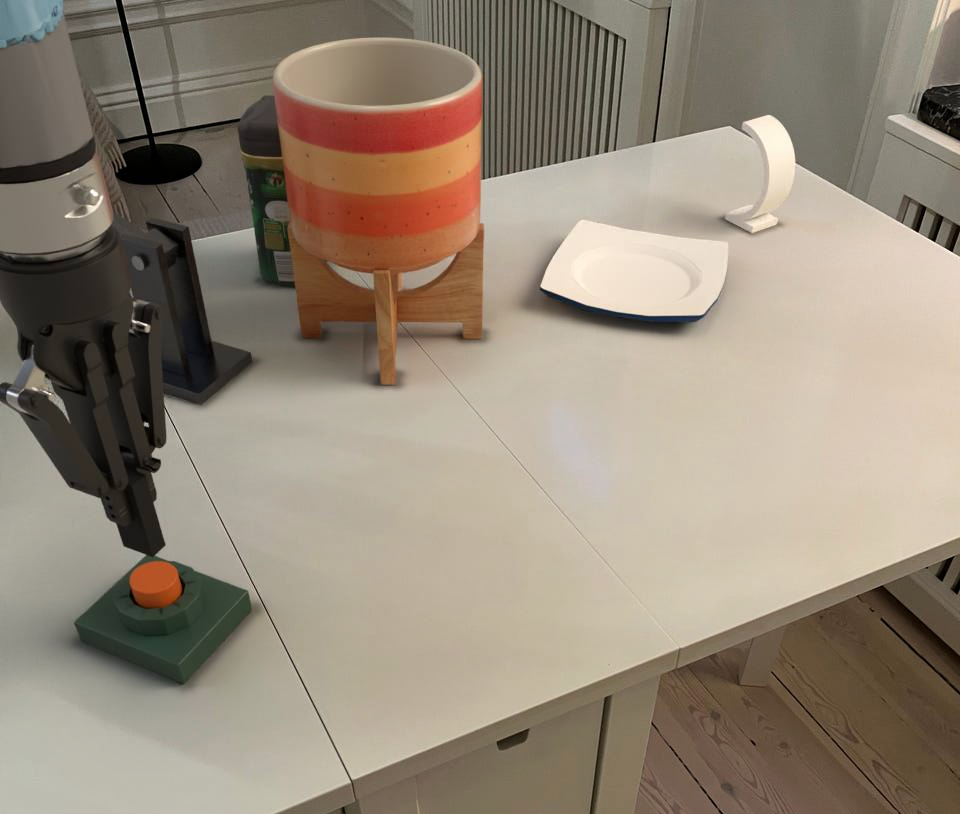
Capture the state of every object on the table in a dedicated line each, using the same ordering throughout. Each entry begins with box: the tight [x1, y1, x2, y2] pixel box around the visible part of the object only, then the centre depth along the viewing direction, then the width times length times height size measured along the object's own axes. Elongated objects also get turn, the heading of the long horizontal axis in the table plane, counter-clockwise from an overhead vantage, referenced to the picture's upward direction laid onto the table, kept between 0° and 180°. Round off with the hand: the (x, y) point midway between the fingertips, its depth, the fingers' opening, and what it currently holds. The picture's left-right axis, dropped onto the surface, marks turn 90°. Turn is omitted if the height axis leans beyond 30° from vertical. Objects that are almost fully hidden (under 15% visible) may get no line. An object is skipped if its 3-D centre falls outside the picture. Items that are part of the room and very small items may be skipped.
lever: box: [112, 210, 178, 268], centre depth 97 cm, size 13×6×2 cm, turn 64°
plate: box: [539, 219, 730, 323], centre depth 120 cm, size 20×20×3 cm
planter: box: [272, 37, 485, 386], centre depth 102 cm, size 20×20×27 cm
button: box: [129, 561, 182, 609], centre depth 78 cm, size 4×4×2 cm
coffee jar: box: [237, 94, 328, 286], centre depth 116 cm, size 10×8×19 cm
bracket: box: [120, 217, 254, 405], centre depth 102 cm, size 11×9×15 cm
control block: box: [73, 555, 253, 685], centre depth 80 cm, size 10×9×4 cm
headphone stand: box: [724, 114, 796, 234], centre depth 128 cm, size 5×6×12 cm
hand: (144, 545), depth 75 cm, fingers closed
